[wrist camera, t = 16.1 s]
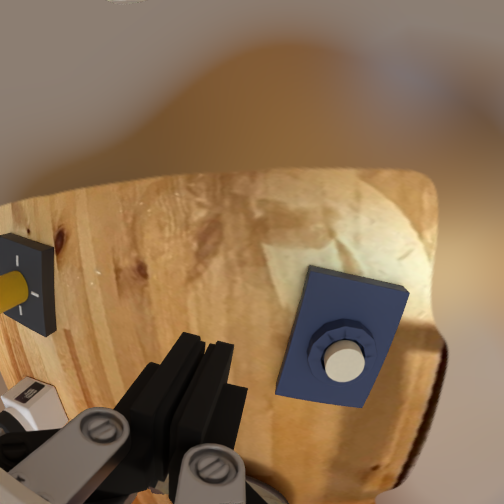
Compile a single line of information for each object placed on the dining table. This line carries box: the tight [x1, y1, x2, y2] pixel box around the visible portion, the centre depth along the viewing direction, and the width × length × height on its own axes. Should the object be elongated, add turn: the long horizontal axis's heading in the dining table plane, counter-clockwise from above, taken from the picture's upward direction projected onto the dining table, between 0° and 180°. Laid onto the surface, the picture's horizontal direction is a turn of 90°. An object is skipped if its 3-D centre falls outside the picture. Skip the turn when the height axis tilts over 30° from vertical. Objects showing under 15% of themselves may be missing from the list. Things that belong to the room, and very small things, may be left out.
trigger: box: [324, 340, 365, 382], centre depth 26 cm, size 4×4×2 cm
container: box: [0, 377, 68, 433], centre depth 33 cm, size 8×8×13 cm
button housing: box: [275, 265, 410, 408], centre depth 29 cm, size 14×10×4 cm
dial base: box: [0, 233, 56, 337], centre depth 33 cm, size 12×10×3 cm
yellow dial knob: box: [0, 271, 28, 314], centre depth 29 cm, size 4×4×6 cm
